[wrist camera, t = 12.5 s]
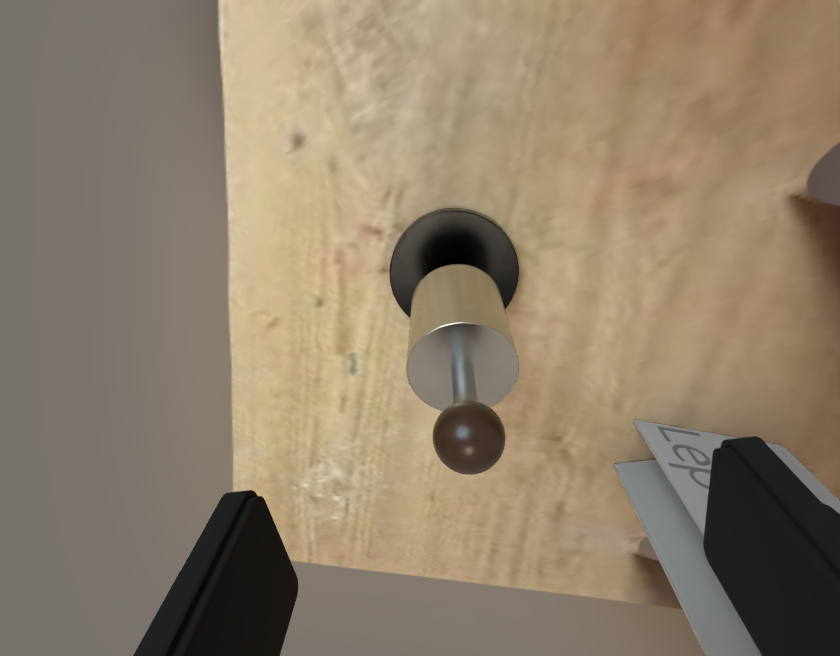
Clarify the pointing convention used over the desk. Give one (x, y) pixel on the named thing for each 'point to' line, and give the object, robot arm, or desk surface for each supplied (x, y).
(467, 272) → the knobbed metal cylinder
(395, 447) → the desk surface
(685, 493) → the brochure
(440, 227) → the holder base
